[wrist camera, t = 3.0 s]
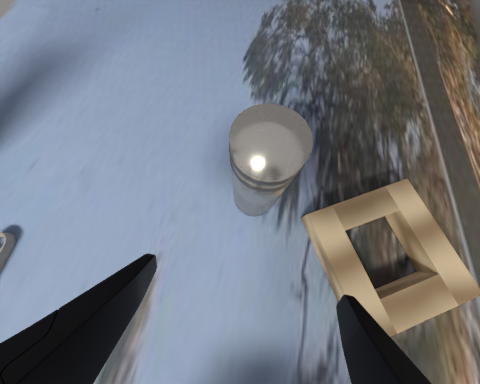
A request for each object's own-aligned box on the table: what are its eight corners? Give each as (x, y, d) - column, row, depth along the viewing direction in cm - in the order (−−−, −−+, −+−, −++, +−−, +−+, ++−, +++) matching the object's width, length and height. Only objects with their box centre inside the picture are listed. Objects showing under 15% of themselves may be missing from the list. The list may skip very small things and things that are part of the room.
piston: (281, 208, 24) (328, 161, 11) (241, 222, 23) (245, 188, 11) (265, 172, 25) (292, 94, 13) (228, 184, 25) (217, 115, 12)
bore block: (455, 289, 21) (483, 294, 19) (353, 334, 20) (369, 346, 17) (390, 185, 25) (407, 178, 22) (300, 217, 23) (307, 213, 21)
